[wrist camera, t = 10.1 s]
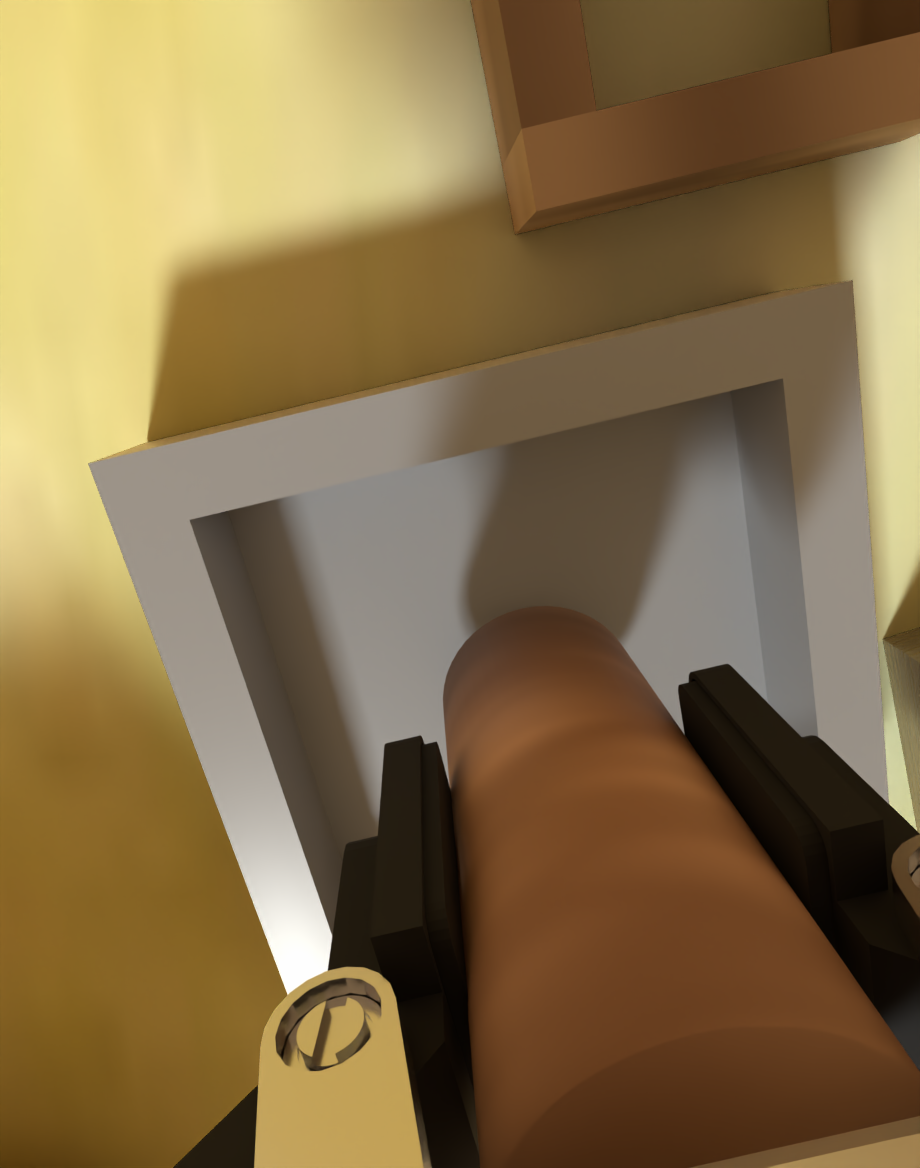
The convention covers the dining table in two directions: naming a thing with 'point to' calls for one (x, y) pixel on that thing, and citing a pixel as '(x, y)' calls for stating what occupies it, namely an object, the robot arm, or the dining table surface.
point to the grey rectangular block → (907, 703)
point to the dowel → (633, 929)
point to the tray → (502, 560)
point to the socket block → (683, 111)
